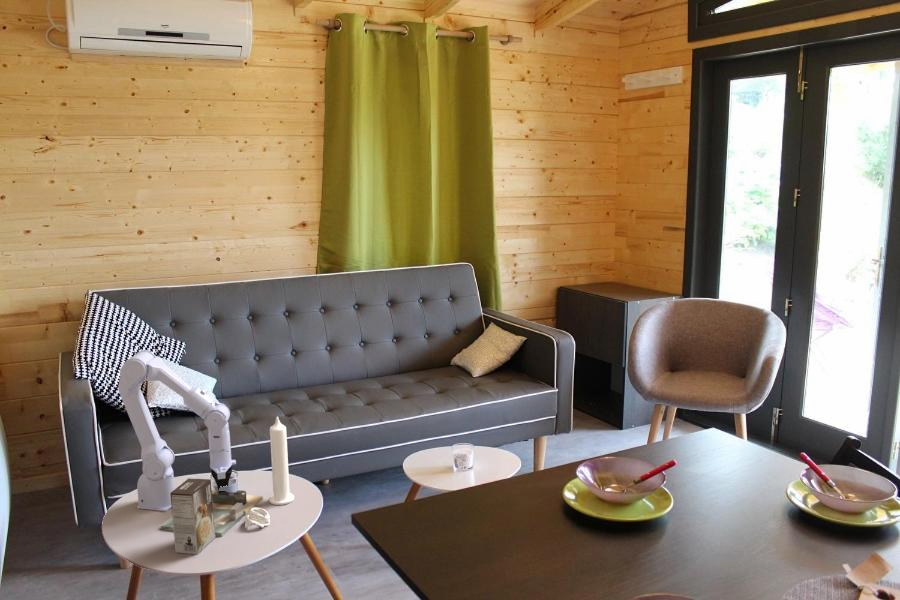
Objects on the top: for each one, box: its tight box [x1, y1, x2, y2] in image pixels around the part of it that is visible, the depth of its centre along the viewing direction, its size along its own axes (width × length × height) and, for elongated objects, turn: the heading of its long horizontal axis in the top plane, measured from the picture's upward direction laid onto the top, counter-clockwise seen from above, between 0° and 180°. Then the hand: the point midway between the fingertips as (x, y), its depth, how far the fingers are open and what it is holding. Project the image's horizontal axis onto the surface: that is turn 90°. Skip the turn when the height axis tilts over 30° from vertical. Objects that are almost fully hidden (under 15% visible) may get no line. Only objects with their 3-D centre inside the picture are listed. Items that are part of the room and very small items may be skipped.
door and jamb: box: [159, 494, 263, 537], centre depth 209 cm, size 18×22×4 cm
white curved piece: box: [244, 507, 271, 530], centre depth 203 cm, size 8×7×5 cm
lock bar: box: [212, 489, 247, 505], centre depth 213 cm, size 12×3×3 cm, turn 77°
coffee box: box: [170, 477, 216, 555], centre depth 191 cm, size 9×6×16 cm
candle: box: [268, 416, 295, 506], centre depth 215 cm, size 7×7×25 cm
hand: (223, 493), depth 216 cm, fingers closed
